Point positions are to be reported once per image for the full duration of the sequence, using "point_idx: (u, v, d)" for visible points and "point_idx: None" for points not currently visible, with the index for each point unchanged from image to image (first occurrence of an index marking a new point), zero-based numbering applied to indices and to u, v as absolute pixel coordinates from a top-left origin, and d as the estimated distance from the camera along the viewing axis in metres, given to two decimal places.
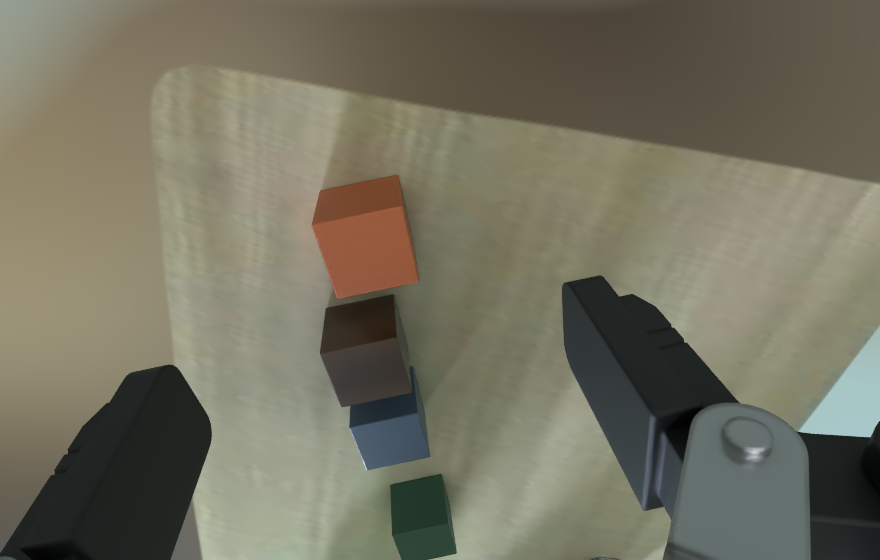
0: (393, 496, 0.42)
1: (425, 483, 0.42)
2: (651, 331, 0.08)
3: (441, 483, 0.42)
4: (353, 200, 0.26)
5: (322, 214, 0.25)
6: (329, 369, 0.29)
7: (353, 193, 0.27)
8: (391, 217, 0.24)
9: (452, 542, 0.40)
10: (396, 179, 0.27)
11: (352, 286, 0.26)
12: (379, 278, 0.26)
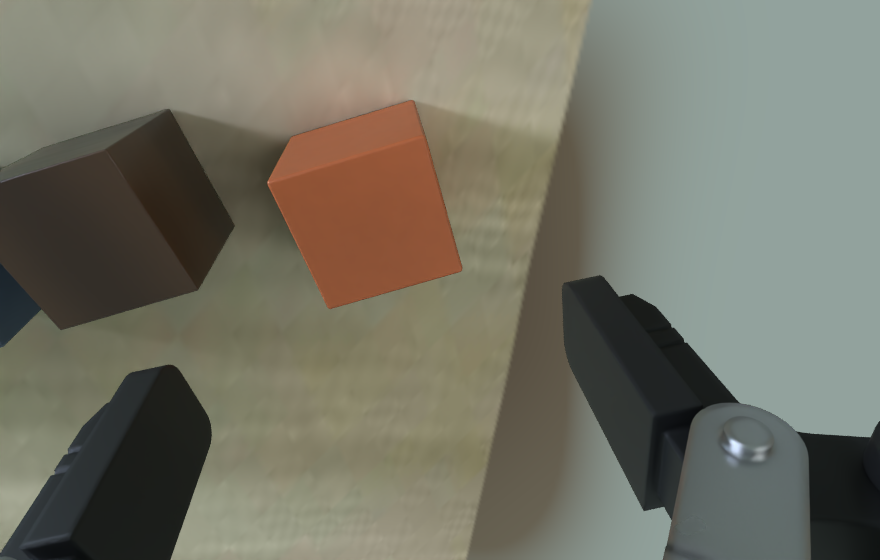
0: None
1: None
2: (651, 331, 0.08)
3: None
4: None
5: None
6: (62, 170, 0.13)
7: None
8: (444, 259, 0.15)
9: None
10: None
11: (301, 208, 0.14)
12: (326, 251, 0.15)
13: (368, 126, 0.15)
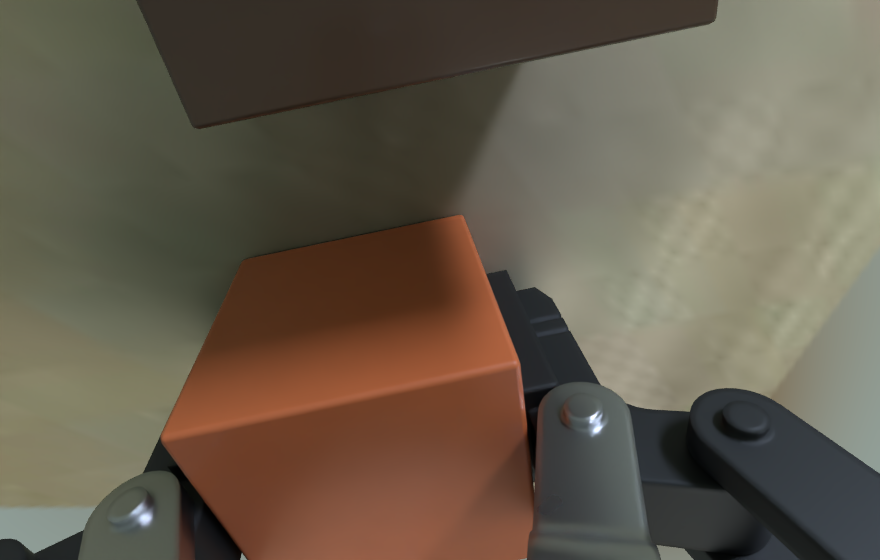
0: None
1: None
2: (542, 321, 0.09)
3: None
4: None
5: None
6: None
7: None
8: None
9: None
10: None
11: (448, 413, 0.06)
12: (337, 445, 0.06)
13: None
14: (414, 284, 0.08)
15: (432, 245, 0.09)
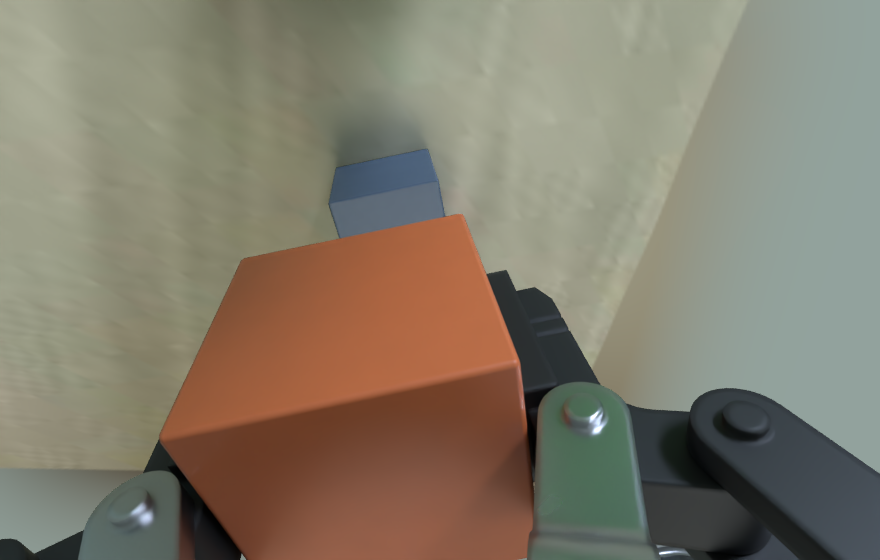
0: None
1: None
2: (542, 321, 0.09)
3: None
4: None
5: None
6: None
7: None
8: None
9: None
10: None
11: (448, 413, 0.06)
12: (336, 445, 0.06)
13: None
14: (413, 284, 0.08)
15: (432, 244, 0.09)
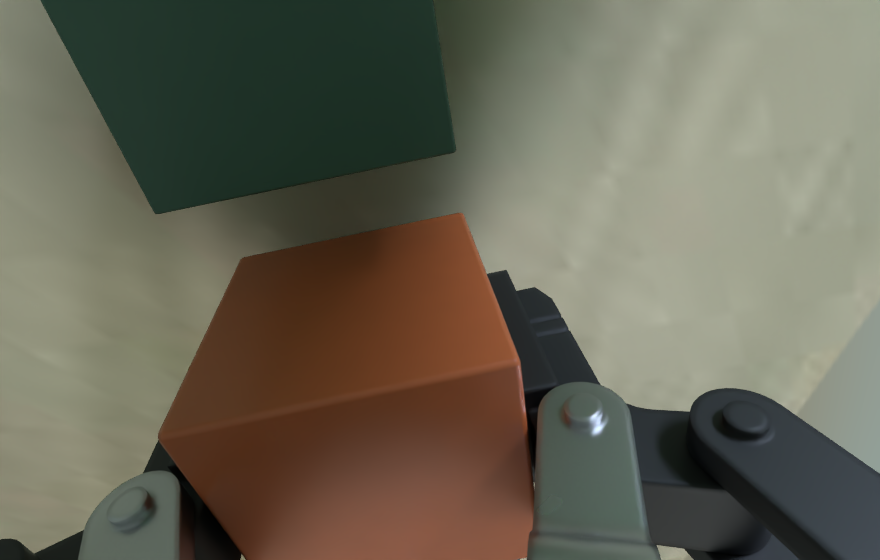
0: None
1: None
2: (542, 321, 0.09)
3: None
4: None
5: None
6: None
7: None
8: None
9: (49, 2, 0.06)
10: None
11: (448, 411, 0.06)
12: (336, 444, 0.06)
13: None
14: (413, 283, 0.08)
15: (432, 243, 0.09)
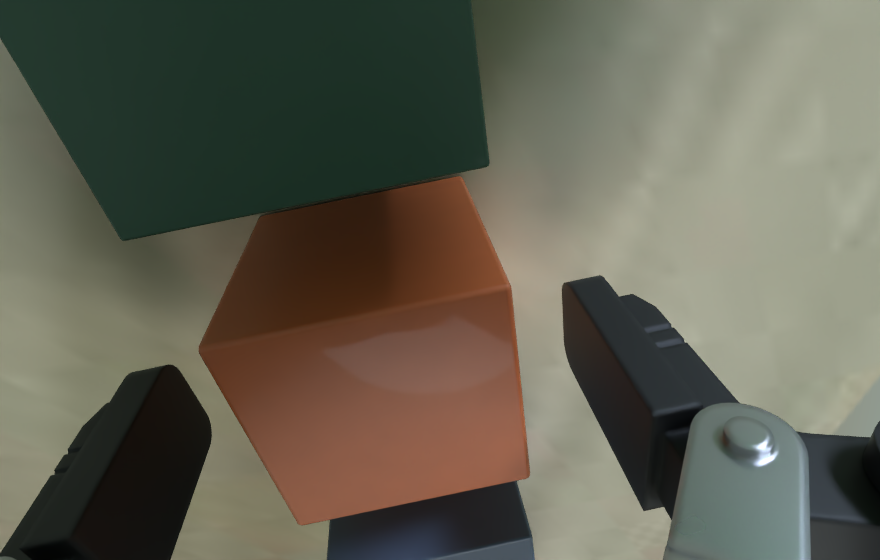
0: None
1: None
2: (651, 331, 0.08)
3: None
4: None
5: None
6: None
7: None
8: (323, 507, 0.09)
9: None
10: None
11: (448, 332, 0.07)
12: (351, 360, 0.07)
13: None
14: (417, 231, 0.09)
15: (434, 200, 0.10)
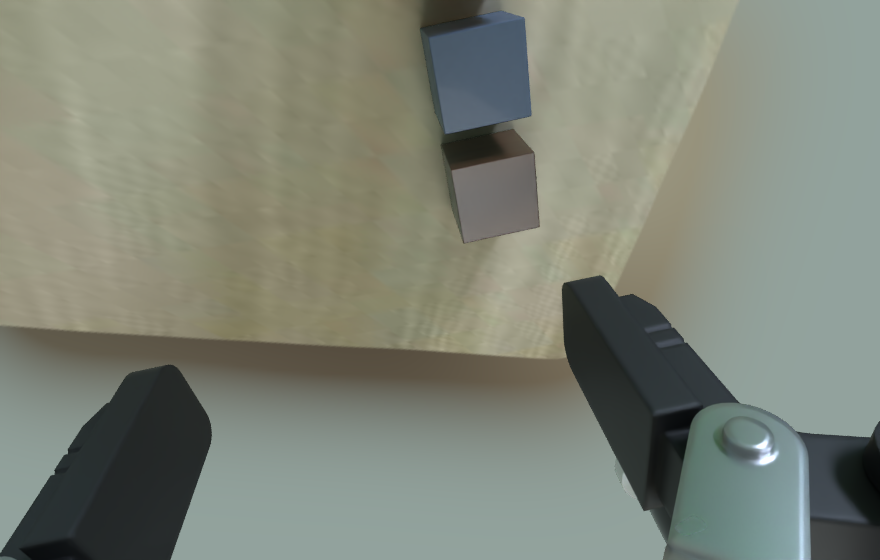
0: None
1: None
2: (651, 331, 0.08)
3: None
4: None
5: None
6: (535, 207, 0.28)
7: None
8: None
9: None
10: None
11: None
12: None
13: None
14: None
15: None
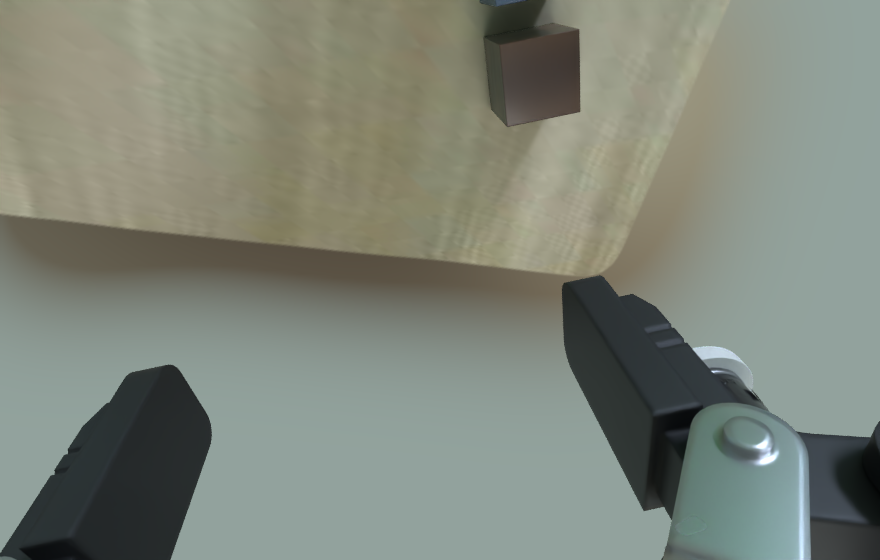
0: None
1: None
2: (651, 331, 0.08)
3: None
4: None
5: None
6: (577, 90, 0.29)
7: None
8: None
9: None
10: None
11: None
12: None
13: None
14: None
15: None
